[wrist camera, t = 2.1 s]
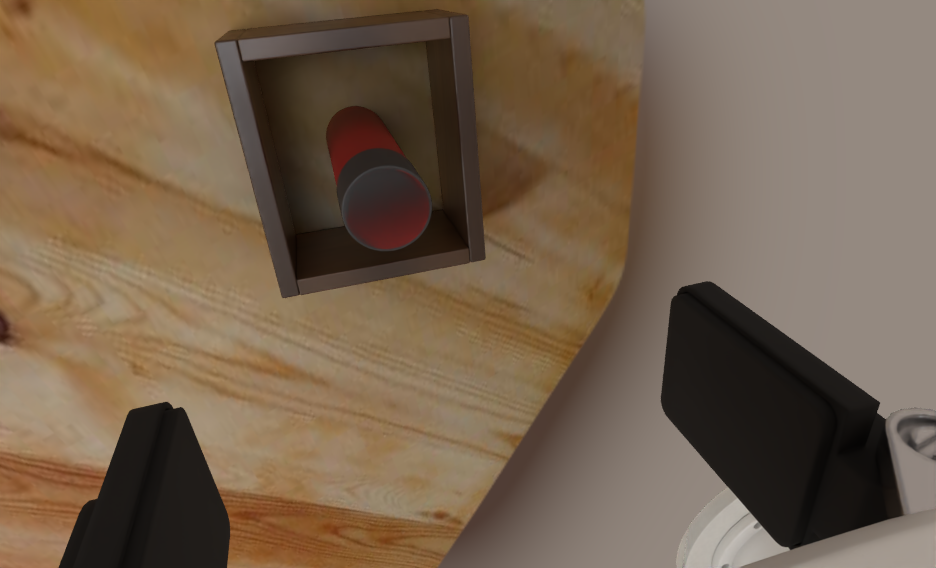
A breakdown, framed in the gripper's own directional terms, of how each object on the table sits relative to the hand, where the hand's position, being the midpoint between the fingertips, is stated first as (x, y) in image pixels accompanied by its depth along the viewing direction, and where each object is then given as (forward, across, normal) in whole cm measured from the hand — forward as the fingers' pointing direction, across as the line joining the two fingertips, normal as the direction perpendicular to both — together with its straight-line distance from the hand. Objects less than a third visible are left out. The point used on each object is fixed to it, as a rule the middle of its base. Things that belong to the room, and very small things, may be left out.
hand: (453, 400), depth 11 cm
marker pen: (+21, 0, 0) cm, 21 cm away
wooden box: (+21, 0, 0) cm, 21 cm away
